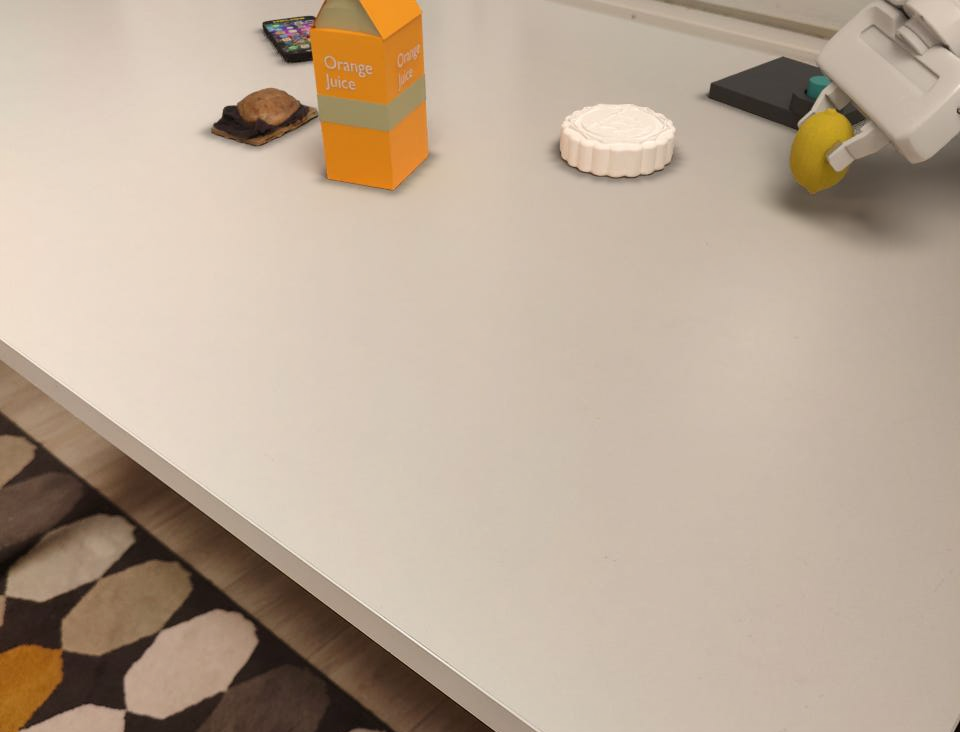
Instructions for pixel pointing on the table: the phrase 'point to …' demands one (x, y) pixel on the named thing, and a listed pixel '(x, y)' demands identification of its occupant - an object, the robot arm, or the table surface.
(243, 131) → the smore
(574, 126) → the mooncake
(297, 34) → the smartphone
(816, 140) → the lemon
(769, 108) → the push button box
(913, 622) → the table surface
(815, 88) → the button
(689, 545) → the table surface
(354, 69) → the orange juice
